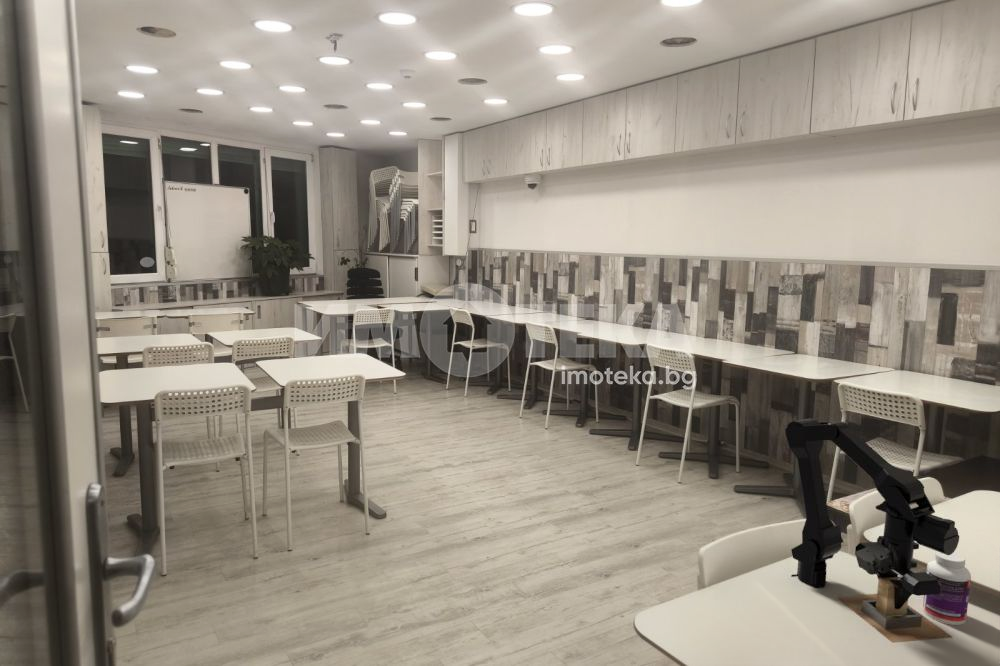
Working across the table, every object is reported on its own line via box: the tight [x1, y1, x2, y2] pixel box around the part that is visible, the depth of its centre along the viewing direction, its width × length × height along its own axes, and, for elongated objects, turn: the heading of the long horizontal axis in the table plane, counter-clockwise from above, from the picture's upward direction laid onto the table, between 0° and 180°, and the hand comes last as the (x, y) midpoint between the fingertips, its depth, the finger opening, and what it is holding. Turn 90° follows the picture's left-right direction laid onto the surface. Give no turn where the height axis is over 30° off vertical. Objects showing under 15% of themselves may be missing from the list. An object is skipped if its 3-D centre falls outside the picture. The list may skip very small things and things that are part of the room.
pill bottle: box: [922, 551, 972, 626], centre depth 150 cm, size 8×8×14 cm
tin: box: [861, 600, 922, 630], centre depth 148 cm, size 7×8×2 cm
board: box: [836, 593, 953, 643], centre depth 150 cm, size 18×14×1 cm
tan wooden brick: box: [876, 576, 909, 616], centre depth 148 cm, size 3×5×7 cm, turn 99°
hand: (891, 604), depth 148 cm, fingers closed on tan wooden brick, 3 cm apart
